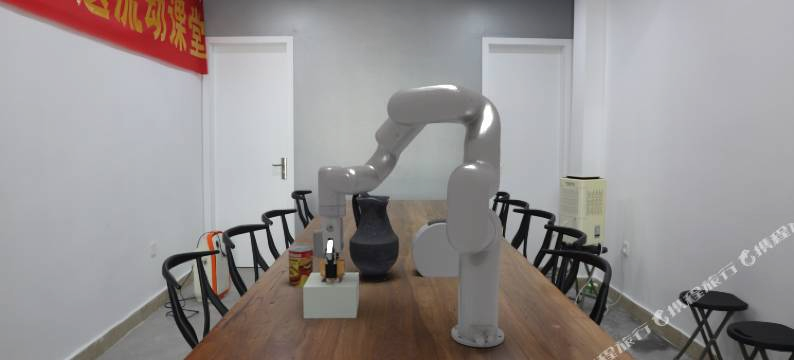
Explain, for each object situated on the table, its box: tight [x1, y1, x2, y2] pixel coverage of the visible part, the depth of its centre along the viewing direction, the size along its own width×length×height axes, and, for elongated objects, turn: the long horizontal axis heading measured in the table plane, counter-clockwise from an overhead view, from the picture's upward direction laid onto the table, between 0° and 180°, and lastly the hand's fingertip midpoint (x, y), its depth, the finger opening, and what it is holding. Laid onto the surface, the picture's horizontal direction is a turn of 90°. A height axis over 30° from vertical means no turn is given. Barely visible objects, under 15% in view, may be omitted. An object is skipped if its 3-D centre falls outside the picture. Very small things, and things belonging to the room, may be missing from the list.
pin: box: [319, 257, 346, 282], centre depth 131 cm, size 7×7×12 cm
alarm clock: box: [410, 218, 460, 278], centre depth 167 cm, size 21×8×20 cm, turn 92°
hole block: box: [302, 271, 360, 319], centre depth 131 cm, size 14×14×8 cm
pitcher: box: [348, 192, 400, 282], centre depth 163 cm, size 17×21×30 cm
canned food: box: [288, 245, 314, 288], centre depth 155 cm, size 8×8×12 cm
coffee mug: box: [312, 228, 326, 259], centre depth 194 cm, size 13×10×10 cm
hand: (332, 273), depth 131 cm, fingers closed on pin, 6 cm apart
